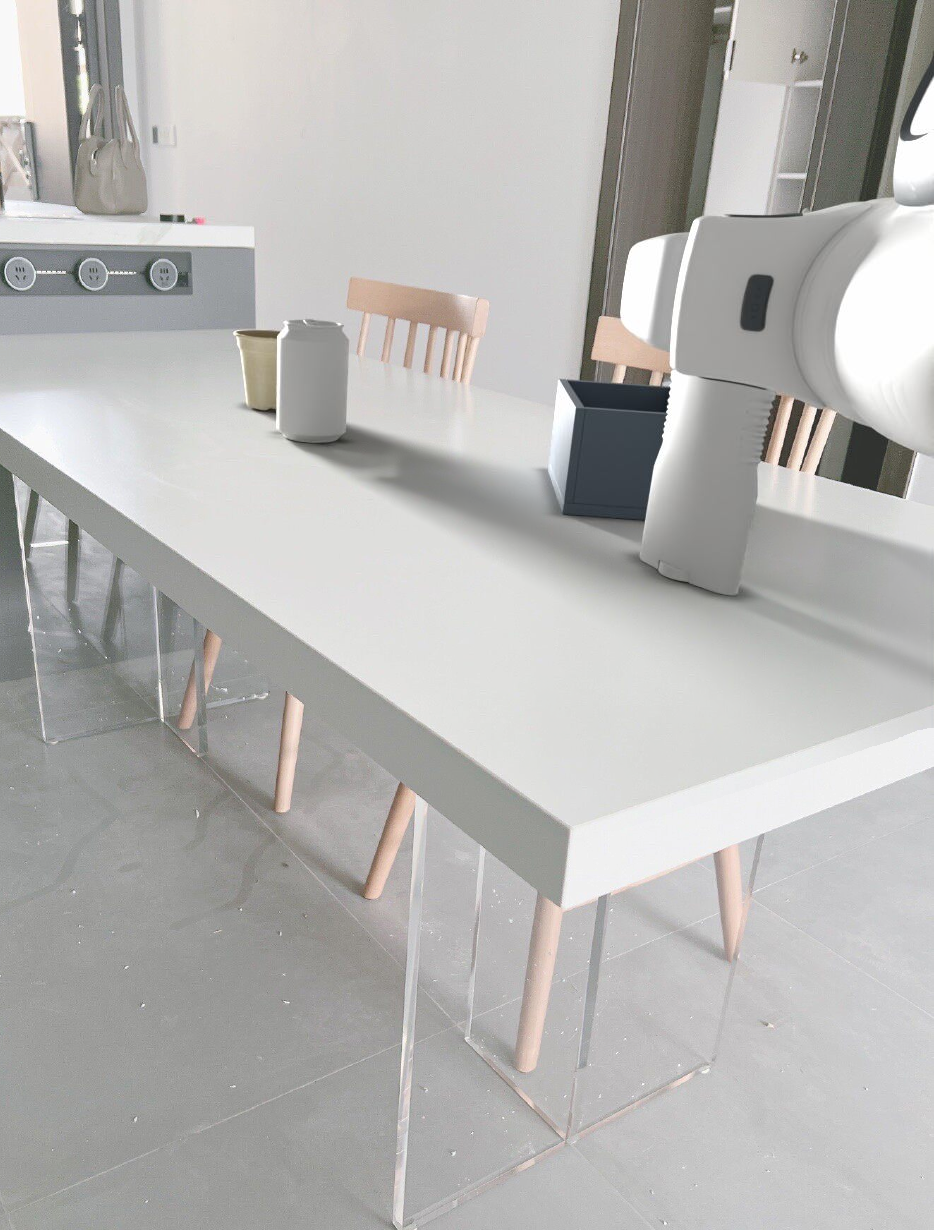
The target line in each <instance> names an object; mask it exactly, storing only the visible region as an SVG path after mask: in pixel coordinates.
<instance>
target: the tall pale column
mask: <svg viewBox="0 0 934 1230" xmlns="http://www.w3.org/2000/svg"><path fill="white" fill-rule="evenodd" d="M670 380H671V383H670V384H669V387H670V388H671V391H670V392H669V394H670V398H669V399H668V402H669V405H668V406H667V408H668V410H667V411H666V412H667V414H668V415H667V416H666V420H667V421H666V422H665V423H664V425H665V428H664V434H663V435H662V437H663V444H662V446H661V449H660V452H659V454H658V457H657V460H656V462H655V465H654V470H653V476H652V482H651V488H650V494H649V500H648V506H647V512H646V519H645V520H644V527H643V532H642V537H641V544H640V549H639V551H640V552H639V555H638V556H639V560H640V561H642V562H644V563H645V564H647V565H648V566H651V567H652V568H654V569H656V570H658V573H659V574H660V575H662V576H663V577H666V578H669V579H671V580H675V581H679V582H684V583H685V582H687V583H688V584H690V585H693V586H696V587H699V588H702V589H704V590H707V591H710V592H712V593H716V594H720V595H725V596H737V595H738V594H739V590H740V585H741V580H742V576H743V575H742V574H743V570H744V566H745V565H744V564H745V561H746V555H747V550H748V546H749V542H750V541H749V540H750V535H751V531H752V526H753V520H754V515H755V510H756V506H757V501H758V495H759V493H758V492H759V491H758V489H759V488H758V487H759V486H758V483H759V482H758V481H759V480H758V469H759V464H760V463H761V461H762V459H761V456H762V455H763V452H762V451H763V450H764V445H763V443H765V438H764V437H766V436H767V434H766V432H767V431H768V428H767V426H768V425H769V424H770V422H769V419H768V418H769V417H770V416H771V412H770V411H771V409H773V408H774V406H773V404H772V403H773V401H775V400H776V397H777V396H776V395H777V393H778V392H776V391H773V390H769V389H767V390H762V389H758V388H753V387H749V386H744V385H738V384H733V383H727V382H720V381H714V380H707V379H702V378H699V377H697V376H690V375H684V374H681V373H678V372H676V371H675V370H673V369H672V370H671V372H670Z"/></svg>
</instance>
